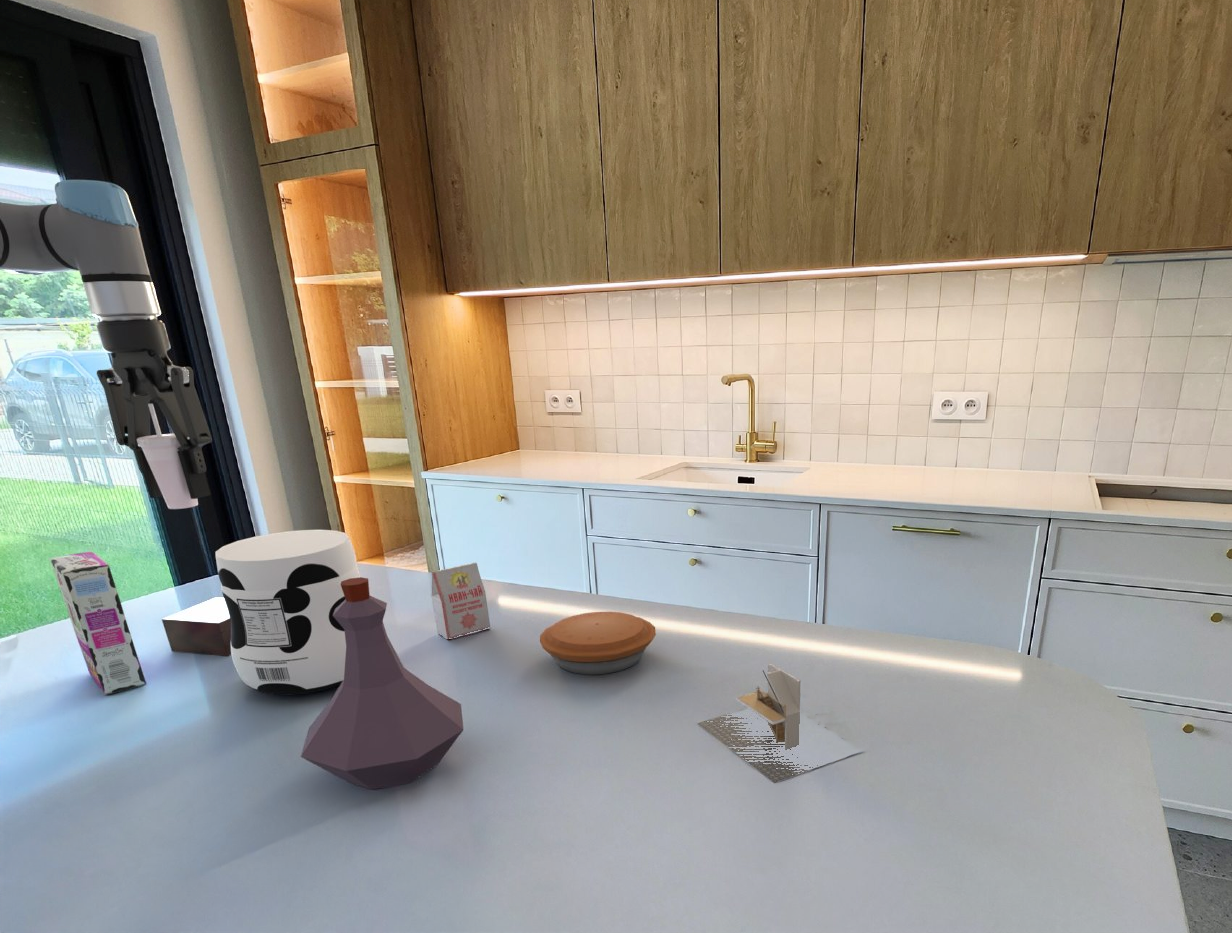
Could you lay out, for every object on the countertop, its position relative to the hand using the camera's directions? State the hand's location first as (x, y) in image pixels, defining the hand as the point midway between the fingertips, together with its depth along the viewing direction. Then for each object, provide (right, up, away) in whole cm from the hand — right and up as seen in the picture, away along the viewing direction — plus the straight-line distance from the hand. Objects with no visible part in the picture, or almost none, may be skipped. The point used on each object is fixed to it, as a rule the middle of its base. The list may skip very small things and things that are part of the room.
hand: (180, 496), depth 112 cm
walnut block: (+3, -20, +6) cm, 21 cm away
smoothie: (0, -1, +1) cm, 2 cm away
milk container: (+23, -26, -8) cm, 35 cm away
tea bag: (+38, -19, +7) cm, 43 cm away
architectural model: (+82, -32, -26) cm, 92 cm away
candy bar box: (-4, -26, -6) cm, 27 cm away
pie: (+60, -23, -5) cm, 65 cm away
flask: (+41, -34, -29) cm, 61 cm away
